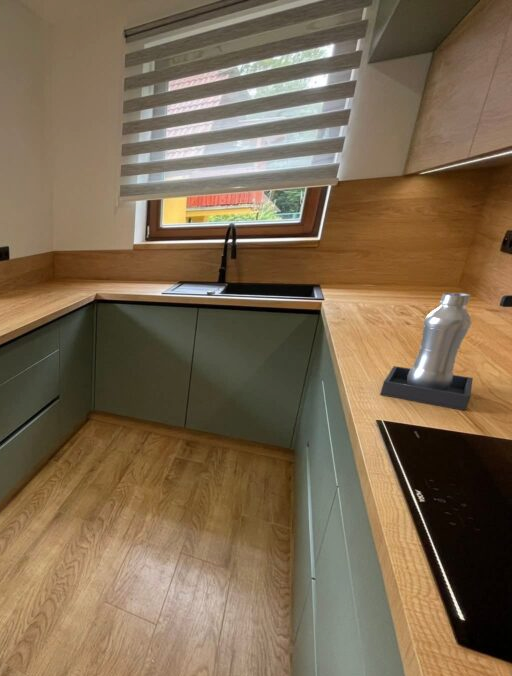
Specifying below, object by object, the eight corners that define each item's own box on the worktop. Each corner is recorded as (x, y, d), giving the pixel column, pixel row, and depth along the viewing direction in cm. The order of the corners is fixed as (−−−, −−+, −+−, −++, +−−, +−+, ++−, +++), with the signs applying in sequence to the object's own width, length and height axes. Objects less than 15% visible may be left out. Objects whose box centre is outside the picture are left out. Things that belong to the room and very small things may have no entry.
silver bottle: (451, 398, 85) (487, 297, 78) (406, 392, 88) (436, 296, 81) (443, 388, 90) (476, 292, 83) (401, 383, 93) (429, 291, 86)
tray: (465, 410, 81) (470, 396, 80) (380, 394, 89) (383, 381, 88) (467, 391, 89) (472, 377, 88) (389, 378, 98) (393, 365, 97)
